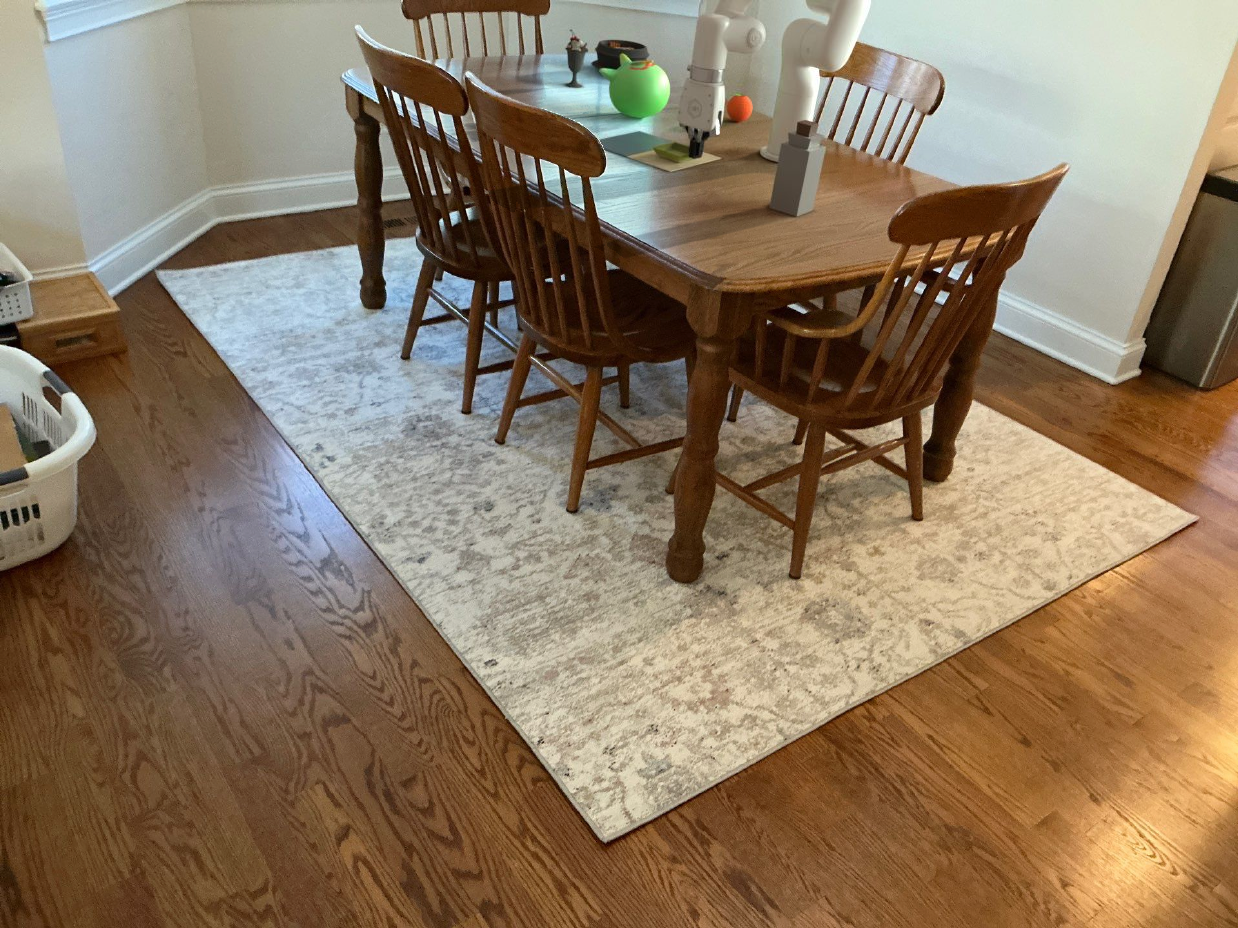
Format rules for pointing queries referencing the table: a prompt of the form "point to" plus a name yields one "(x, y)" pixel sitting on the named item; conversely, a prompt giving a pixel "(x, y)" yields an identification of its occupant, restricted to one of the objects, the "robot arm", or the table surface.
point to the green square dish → (673, 151)
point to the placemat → (648, 151)
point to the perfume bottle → (798, 170)
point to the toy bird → (637, 87)
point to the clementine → (739, 107)
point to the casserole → (618, 53)
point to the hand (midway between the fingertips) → (695, 157)
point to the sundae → (575, 58)
